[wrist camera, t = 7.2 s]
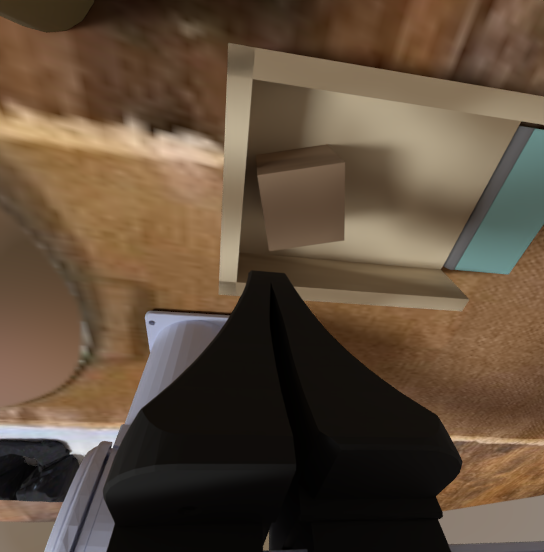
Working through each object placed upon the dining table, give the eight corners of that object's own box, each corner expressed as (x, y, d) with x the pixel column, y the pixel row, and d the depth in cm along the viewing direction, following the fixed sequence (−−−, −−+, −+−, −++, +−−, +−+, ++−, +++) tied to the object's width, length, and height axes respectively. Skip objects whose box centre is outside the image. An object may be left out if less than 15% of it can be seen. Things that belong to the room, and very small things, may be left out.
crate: (428, 273, 23) (461, 311, 20) (224, 256, 21) (218, 294, 18) (519, 97, 17) (595, 105, 13) (234, 50, 15) (228, 43, 11)
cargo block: (328, 211, 19) (344, 240, 16) (266, 220, 19) (269, 251, 16) (326, 144, 17) (345, 162, 13) (256, 154, 17) (257, 175, 13)
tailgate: (441, 263, 22) (501, 268, 23) (447, 269, 22) (509, 274, 22) (515, 125, 17) (590, 136, 18) (525, 127, 16) (604, 139, 17)
